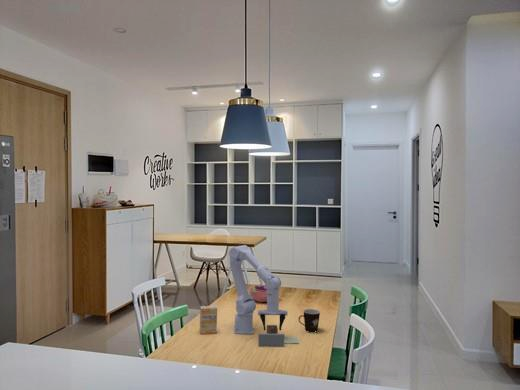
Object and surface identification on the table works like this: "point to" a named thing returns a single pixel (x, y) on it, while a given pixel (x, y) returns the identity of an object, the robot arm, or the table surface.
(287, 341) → the pad
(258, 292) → the cell model
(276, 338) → the screen
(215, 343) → the table surface
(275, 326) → the walnut block
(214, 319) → the supplement box
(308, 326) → the coffee mug
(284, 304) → the table surface
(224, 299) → the table surface
